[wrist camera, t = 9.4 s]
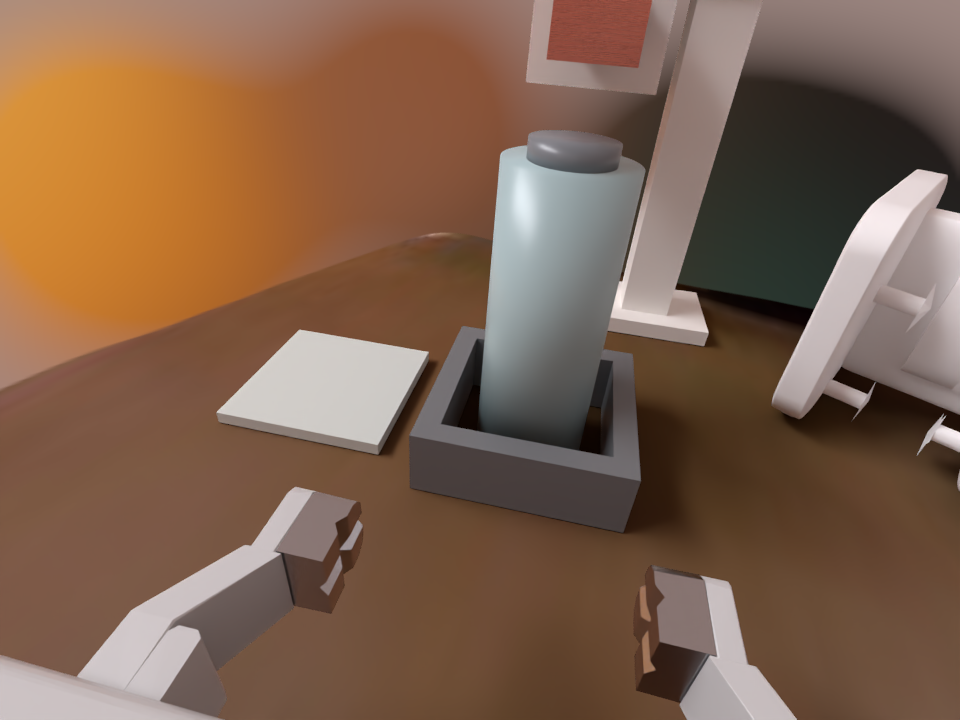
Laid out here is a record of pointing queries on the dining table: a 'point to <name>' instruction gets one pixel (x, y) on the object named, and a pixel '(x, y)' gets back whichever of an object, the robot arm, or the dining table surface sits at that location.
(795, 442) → the dining table surface
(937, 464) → the dining table surface
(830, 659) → the dining table surface
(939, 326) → the cable organizer
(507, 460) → the socket collar
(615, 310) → the stand
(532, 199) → the pale blue bottle
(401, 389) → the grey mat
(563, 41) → the bolt
